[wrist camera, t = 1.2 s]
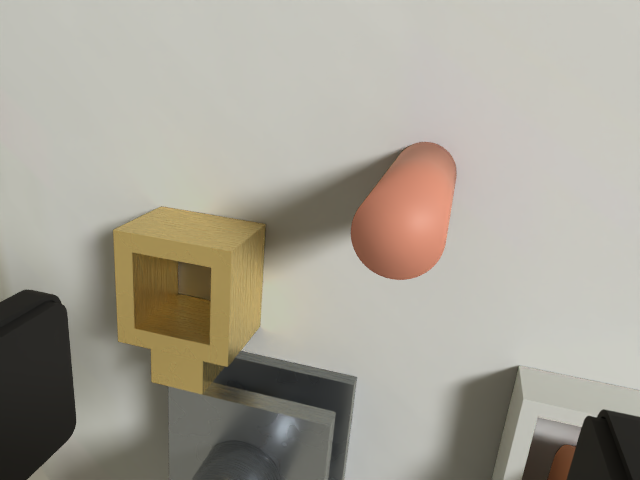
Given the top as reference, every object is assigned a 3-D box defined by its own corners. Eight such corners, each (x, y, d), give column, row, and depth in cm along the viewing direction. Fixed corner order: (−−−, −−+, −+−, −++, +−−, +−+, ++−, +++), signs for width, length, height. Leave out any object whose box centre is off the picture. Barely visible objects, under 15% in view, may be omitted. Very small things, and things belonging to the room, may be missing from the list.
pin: (461, 146, 26) (453, 196, 17) (450, 208, 27) (437, 287, 18) (397, 138, 26) (356, 182, 17) (389, 198, 27) (346, 270, 18)
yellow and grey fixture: (374, 242, 28) (277, 419, 15) (339, 513, 34) (249, 818, 21) (161, 206, 31) (-90, 327, 17) (164, 464, 37) (-19, 706, 23)
